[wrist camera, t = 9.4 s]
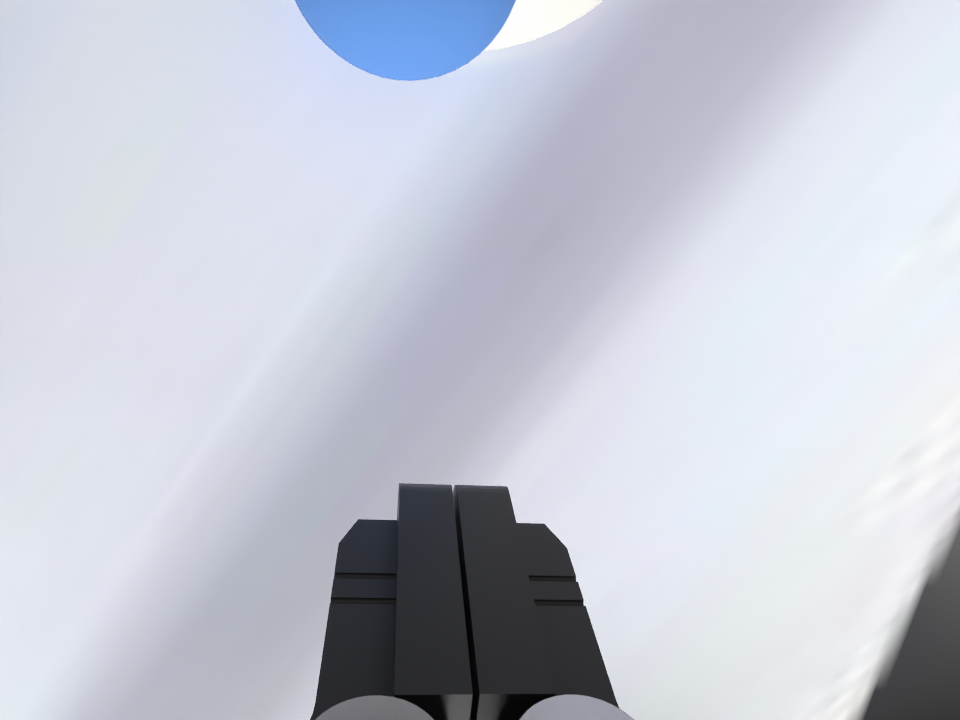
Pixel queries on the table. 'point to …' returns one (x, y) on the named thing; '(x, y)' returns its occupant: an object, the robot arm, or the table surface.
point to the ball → (407, 33)
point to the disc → (538, 20)
